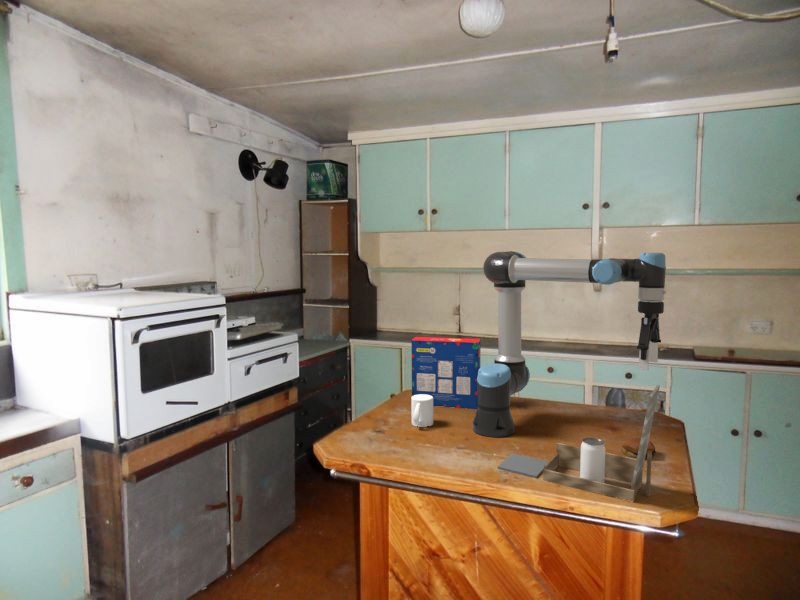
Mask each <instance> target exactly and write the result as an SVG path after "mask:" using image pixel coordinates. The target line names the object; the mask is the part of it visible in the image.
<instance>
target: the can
mask: <svg viewBox="0 0 800 600" xmlns="http://www.w3.org/2000/svg"><path fill="white" fill-rule="evenodd" d="M580 447H581V459H580V471H579V477H580V478H584V479H589V480H593V481H597V482H601V483H605V478H606V477H605V453H606V446H605V442H604V441H603V440H602V439H600V438H596V437H584V438H583V439H582V442H581V444H580Z"/></svg>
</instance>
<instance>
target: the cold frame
mask: <svg viewBox="0 0 800 600" xmlns="http://www.w3.org/2000/svg"><path fill="white" fill-rule="evenodd" d="M660 386H661V385H659V384H657V385H656V386H655V387H654V389H653V390H652V392H651V393H650V394H649V396H648V402H647V407H646V411H645V417H644V422H643V426H642V432H641V437H640V439H641V441H640V446H639V451H638V456H637V458H631V457H628V456H626V455H625V456H623V455H619V454H614V453H609V452H605V478H609V479H613V480H617V481H622V482H626V483H630V484H631V485H630V486H631V487H630V488H625V487H623V486H622V487H621V486H617V485H613V484H611V483H610V484H609V483H605V482H604V483H601V482H597V481H593V480H589V479H584V478H580V476H575V475H572V474H566V473H563V472H558V471H556V470H557V468H558V467H561V468H565V469H568V470H569V469H570V470H575V471H578V472H580V459H581V446H575V445H571V444H565V443H560V442H557V443H556V453H554V455H553V456H551V458H550V459H549V460H547V461H548V462H547V463H546V464H545V465H544V470H543V472H542V481H546V482H550V483H554V482H555V483H554V484H558V483H559V484H558V485H562V484H563V485H562V486H566V485H567V486H566V487H570V486H571V487H570V488H574V487H575V489H578V488H579V489H578V490H582V489H583V490H582V491H586V490H587V492H590V493H594V492H595V494H598V493H600V494H599V495H602V494H604V495H603V496H606V495H608V496H607V497H610V496H613V497H612V498H614V497H617V498H616V499H618V498H621V499H620V500H622V499H625V500H624V501H626V500H630V501H634V502H635V500H636V498H635V497H637V496H638V494H639V492H640V490H639V489H641V487H642V485H643V474H644V473H643V470H644V469H643V468H644V465H645V460H646V483H645V497H647V496H649V497H650V496H651V485H652V484H651V483H652V481H651V480H652V479H651V477H652V459H653V456H652V451H648V453H647V458H645V456H646V451H647V446H648V441H650V436H651V430H652V428H653V427H652V426H653V421H654V416H655V412H656V408H657V407H656V406H657V402H658V397H659V391H660V388H661V387H660ZM638 491H639V492H638ZM637 493H638V494H637ZM636 495H637V496H636ZM634 499H635V500H634ZM630 501H629V502H630Z"/></svg>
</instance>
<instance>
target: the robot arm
mask: <svg viewBox="0 0 800 600" xmlns="http://www.w3.org/2000/svg"><path fill="white" fill-rule="evenodd" d="M482 267H483V273H484V274H483V275H484V276H485V278H486V279H487V281H490V282H491V283H493V288H494V289H495V291H496V292H497V313H498V314H497V315H498V316H497V330H498V331H497V332H498V333H497V334H498V335H497V336H498V337H497V338H498V342H497V343H498V345H497V346H498V348H497V349H498V350H497V351H498V353H497V355H496V356H495V357H493V358H494V359H493V360H494V363H490V364H485V365H482V366H480V369H479V371H478V377H477V381H478V408H477V409H476V411H475V416H474V418H473V421H472V431H473V432H474V433H476V434H478V435H480V436H484V437H492V438H502V437H508V436H511V435H513V434H515V432H516V431H515V422H514V418H513V415H512V412H511V396H512V395H515V394H516V393H519V392H521V391H523V389H524V388H525V387H526V386H528V383H529V381H530V375H531V374H530V373H531V372H530V370H529V367H528V366H527V365H526V358H525V357H524V356H523V355H522V291H523V290H525V288H526V281H532V282H533V281H534V282H535V281H536V282H539V281H541V282H557V283H559V282H561V283H562V282H563V283H565V282H566V283H585V284H586V283H590V284H601V285H608V286H609V285H612V284H615V283H620V282H626V283H627V282H630V283H631V282H634V283H638V292H637V293H638V295H637V299H638V301H637V312H638V313H640V314H644V315H643V316H644V317H642V316H641V320H640V323H641V324H640V328H639V329H640V331H639V337H638V344H637V345H636V349H637V350H639V352H638V353H639V354H638V355H639V356H638V370H642V371H643V370H644V371H649V366H650V364H649V363H658V362H659V361H658V359H659V357H658V356H659V343H660V344H661V343H662V339H661V335H660V321H659V317H660V315H661V314H663V313H664V311H665V309H664V307H665V303H664V300H665V295H666V294H667V290H665V286H666V283H665V282H666V270H667V266H666V255H665V253H664V252H641V253H640V254H639V257H638V258H615V257H614V258H613V257H612V258H604V259H599V258H597V259H596V258H595V259H591V258H590V259H589V258H588V259H587V258H537V257H536V258H528V257H526V256H525V255H524V254H523V253H521V252H518V251H512V250H511V251H496V252H493V253H490V254H489V256H487V257H486V259H485V261H484V262H483V266H482Z"/></svg>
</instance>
